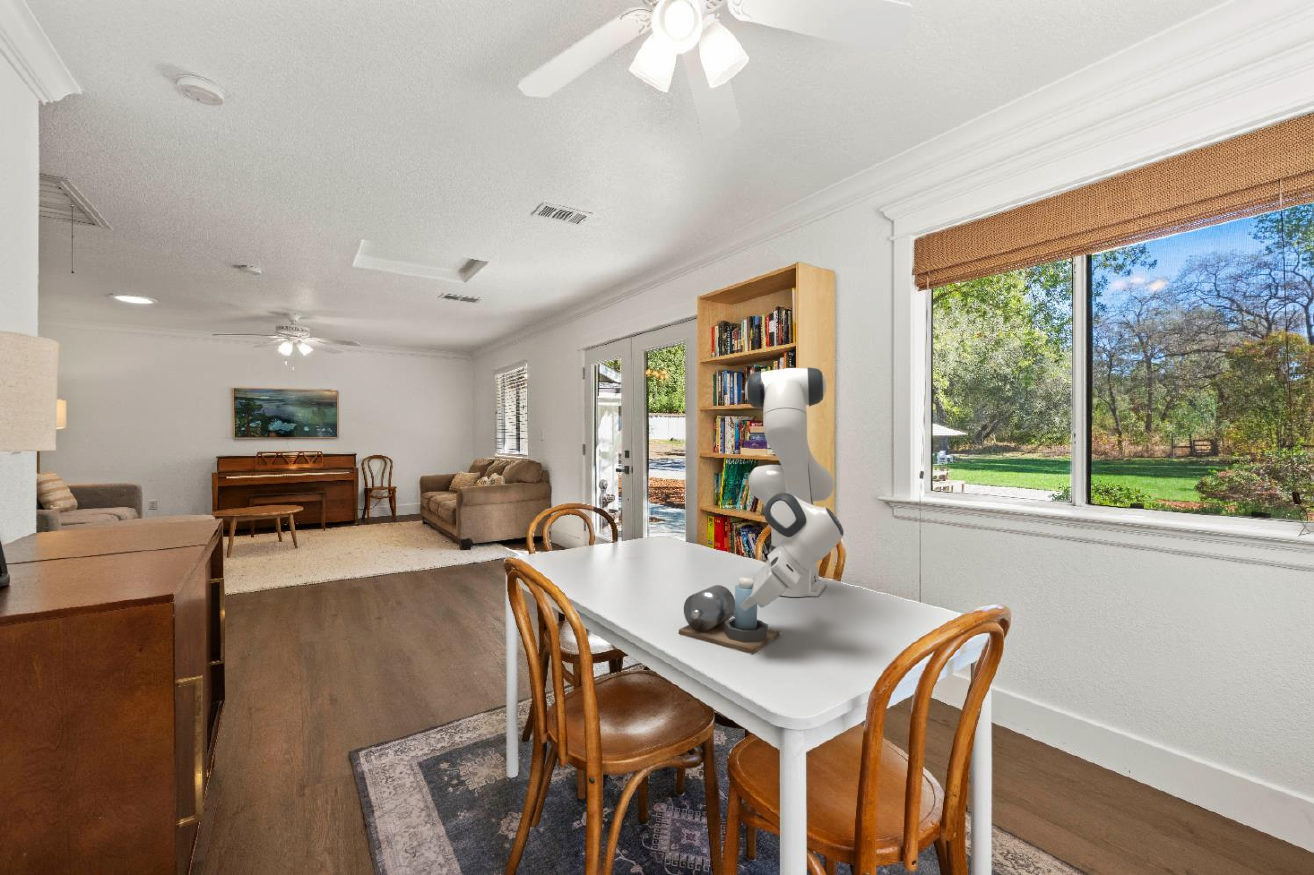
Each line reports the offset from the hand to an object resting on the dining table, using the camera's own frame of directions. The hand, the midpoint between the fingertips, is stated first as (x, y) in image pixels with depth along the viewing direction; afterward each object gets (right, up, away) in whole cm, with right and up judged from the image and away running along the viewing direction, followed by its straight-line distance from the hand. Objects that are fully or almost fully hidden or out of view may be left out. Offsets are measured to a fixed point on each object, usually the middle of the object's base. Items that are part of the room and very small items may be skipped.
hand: (743, 603), depth 132 cm
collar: (+1, -8, 0) cm, 8 cm away
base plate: (-3, -8, +3) cm, 9 cm away
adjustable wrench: (0, -9, +17) cm, 19 cm away
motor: (-8, -7, +5) cm, 12 cm away
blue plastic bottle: (+1, -6, 0) cm, 6 cm away
